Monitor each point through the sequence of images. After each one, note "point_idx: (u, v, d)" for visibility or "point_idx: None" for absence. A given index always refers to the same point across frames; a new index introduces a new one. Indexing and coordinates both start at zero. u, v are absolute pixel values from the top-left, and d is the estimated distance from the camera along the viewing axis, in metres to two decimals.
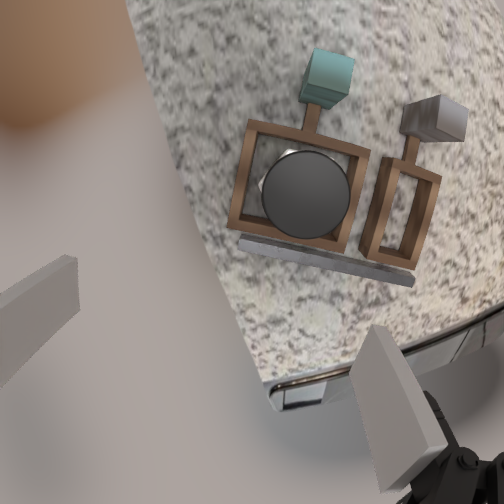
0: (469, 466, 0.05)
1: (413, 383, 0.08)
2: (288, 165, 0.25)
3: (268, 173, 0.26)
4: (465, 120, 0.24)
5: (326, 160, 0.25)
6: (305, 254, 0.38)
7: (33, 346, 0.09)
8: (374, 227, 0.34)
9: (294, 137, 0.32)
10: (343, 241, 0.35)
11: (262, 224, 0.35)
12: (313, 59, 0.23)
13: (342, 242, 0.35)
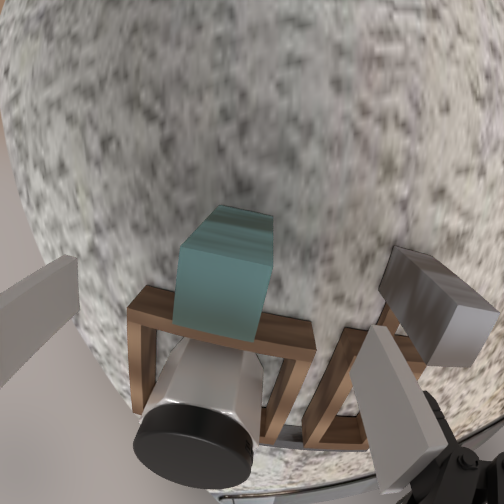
0: (469, 466, 0.05)
1: (413, 383, 0.08)
2: (157, 441, 0.15)
3: (135, 442, 0.15)
4: (486, 334, 0.13)
5: (209, 445, 0.15)
6: None
7: (33, 346, 0.09)
8: (316, 422, 0.24)
9: (194, 337, 0.21)
10: (272, 436, 0.25)
11: None
12: (179, 275, 0.13)
13: (271, 437, 0.25)
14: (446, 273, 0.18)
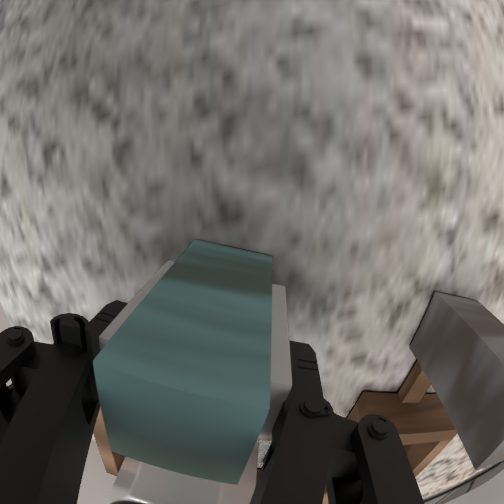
0: (316, 413, 0.07)
1: (282, 330, 0.10)
2: None
3: None
4: None
5: None
6: None
7: None
8: None
9: None
10: None
11: None
12: (102, 401, 0.06)
13: None
14: (503, 333, 0.11)
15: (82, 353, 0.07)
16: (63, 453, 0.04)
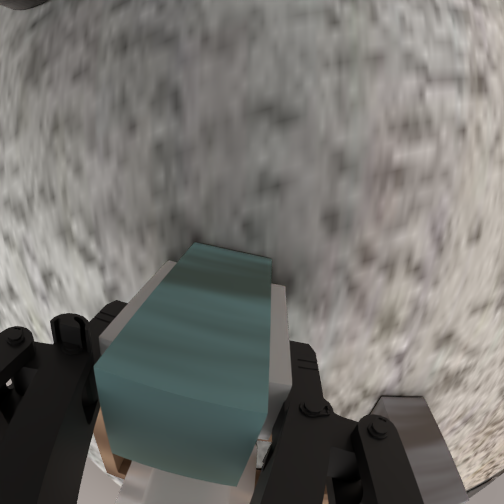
0: (316, 413, 0.07)
1: (282, 330, 0.10)
2: None
3: None
4: None
5: None
6: None
7: None
8: None
9: None
10: None
11: None
12: (103, 405, 0.06)
13: None
14: (430, 439, 0.14)
15: (82, 353, 0.07)
16: (63, 453, 0.04)
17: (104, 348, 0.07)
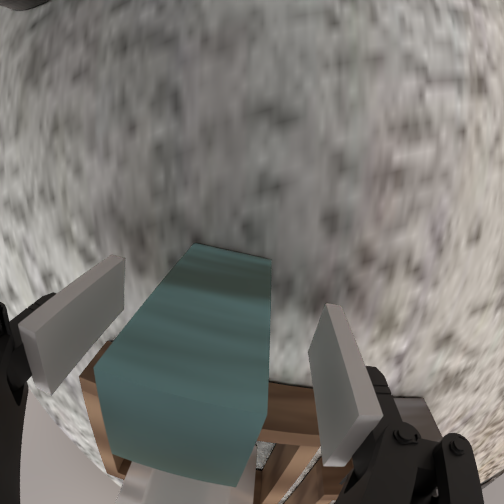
0: (407, 441, 0.06)
1: (356, 356, 0.09)
2: None
3: None
4: None
5: None
6: None
7: (85, 345, 0.10)
8: None
9: None
10: None
11: None
12: (103, 405, 0.06)
13: None
14: None
15: (3, 336, 0.06)
16: None
17: (23, 336, 0.07)
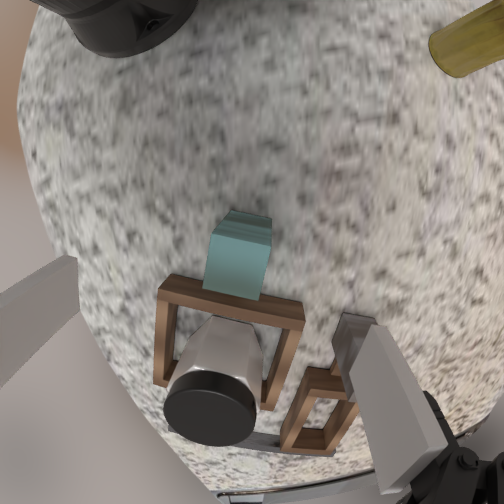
0: (469, 466, 0.05)
1: (413, 383, 0.08)
2: (186, 398, 0.22)
3: (167, 400, 0.22)
4: None
5: (227, 400, 0.22)
6: None
7: (32, 346, 0.09)
8: (288, 433, 0.33)
9: (210, 311, 0.28)
10: (272, 402, 0.31)
11: None
12: (209, 253, 0.20)
13: (271, 403, 0.31)
14: None
15: None
16: None
17: None
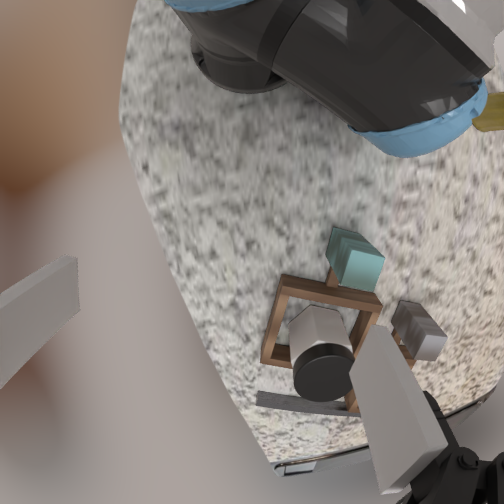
0: (469, 466, 0.05)
1: (413, 383, 0.08)
2: (317, 364, 0.32)
3: (301, 368, 0.32)
4: (441, 346, 0.33)
5: (346, 361, 0.32)
6: (304, 407, 0.47)
7: (32, 346, 0.09)
8: None
9: (320, 301, 0.38)
10: None
11: (288, 360, 0.42)
12: (349, 262, 0.30)
13: None
14: (425, 316, 0.38)
15: None
16: None
17: None
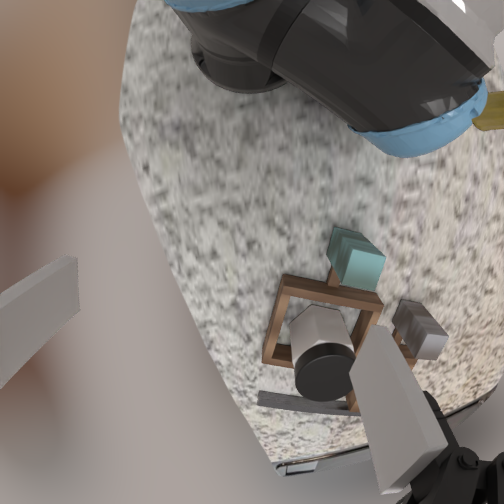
0: (469, 466, 0.05)
1: (413, 383, 0.08)
2: (319, 363, 0.32)
3: (303, 367, 0.32)
4: (443, 345, 0.33)
5: (347, 360, 0.32)
6: (305, 407, 0.47)
7: (33, 346, 0.09)
8: None
9: (322, 300, 0.38)
10: None
11: (290, 360, 0.42)
12: (350, 261, 0.30)
13: None
14: (426, 315, 0.38)
15: None
16: None
17: None
